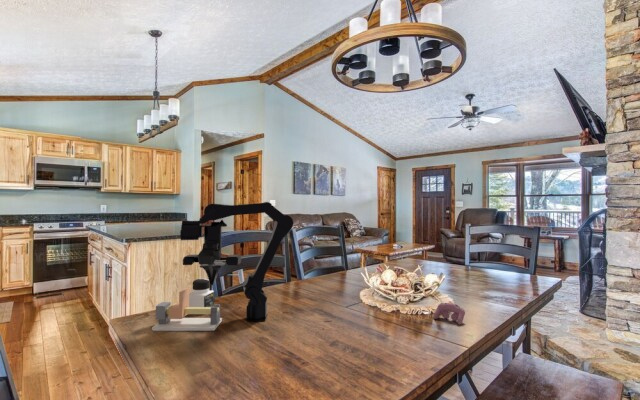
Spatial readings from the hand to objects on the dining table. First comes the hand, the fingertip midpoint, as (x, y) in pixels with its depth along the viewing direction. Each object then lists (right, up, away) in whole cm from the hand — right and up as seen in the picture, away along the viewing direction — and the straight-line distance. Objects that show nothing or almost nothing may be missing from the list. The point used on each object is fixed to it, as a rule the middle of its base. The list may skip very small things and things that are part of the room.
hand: (212, 284), depth 115 cm
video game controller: (+84, -14, +4) cm, 85 cm away
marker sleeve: (-10, -10, -3) cm, 14 cm away
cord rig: (-7, -13, -3) cm, 15 cm away
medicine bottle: (-8, -13, +12) cm, 20 cm away
